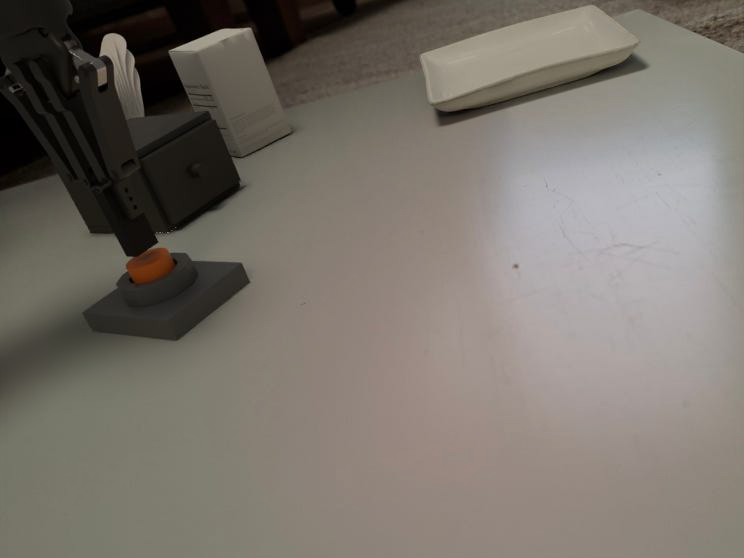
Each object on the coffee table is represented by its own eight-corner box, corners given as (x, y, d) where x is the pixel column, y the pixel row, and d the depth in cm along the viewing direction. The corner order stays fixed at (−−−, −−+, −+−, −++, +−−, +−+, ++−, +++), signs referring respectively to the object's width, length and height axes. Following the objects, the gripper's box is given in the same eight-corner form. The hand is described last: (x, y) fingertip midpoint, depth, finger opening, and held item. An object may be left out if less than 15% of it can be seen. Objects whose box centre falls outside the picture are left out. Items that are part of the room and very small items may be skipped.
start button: (184, 264, 79) (176, 247, 78) (153, 286, 76) (144, 269, 75) (156, 262, 81) (148, 246, 80) (125, 284, 78) (116, 268, 77)
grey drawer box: (240, 185, 107) (208, 110, 101) (168, 233, 98) (129, 154, 93) (163, 187, 114) (129, 118, 109) (90, 232, 106) (50, 159, 100)
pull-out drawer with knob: (248, 180, 104) (222, 118, 100) (182, 224, 97) (151, 159, 92) (168, 182, 112) (141, 125, 108) (102, 223, 104) (70, 164, 100)
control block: (250, 282, 80) (234, 245, 78) (177, 341, 74) (156, 302, 72) (167, 277, 87) (150, 243, 85) (92, 332, 80) (71, 296, 78)
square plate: (424, 76, 129) (417, 51, 127) (597, 27, 128) (593, 0, 126) (435, 128, 106) (427, 98, 104) (646, 68, 105) (642, 36, 103)
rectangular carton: (262, 128, 127) (221, 27, 119) (293, 132, 121) (253, 26, 113) (211, 153, 123) (165, 50, 115) (240, 159, 116) (195, 49, 108)
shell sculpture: (106, 175, 127) (44, 55, 117) (133, 154, 133) (77, 39, 124) (153, 166, 125) (94, 43, 115) (178, 145, 131) (124, 27, 122)
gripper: (92, -50, 63) (219, 230, 76) (-5, -24, 70) (127, 229, 83) (8, -23, 58) (160, 272, 71) (-87, 3, 65) (67, 268, 78)
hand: (142, 249), depth 77 cm, fingers closed
